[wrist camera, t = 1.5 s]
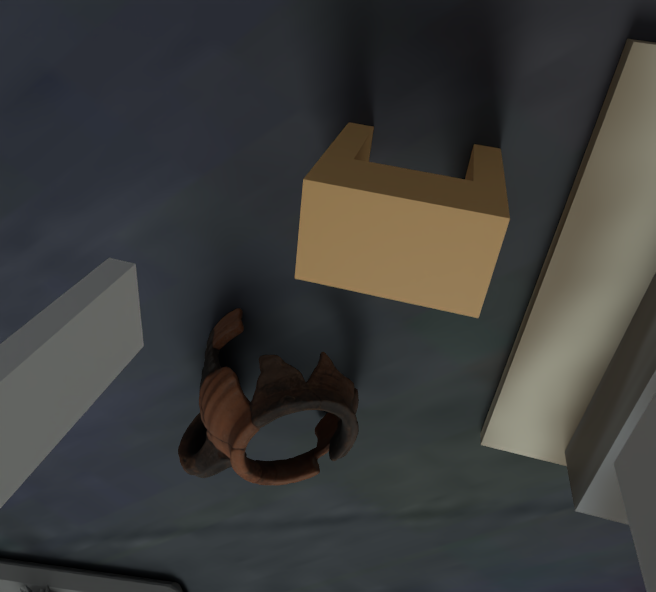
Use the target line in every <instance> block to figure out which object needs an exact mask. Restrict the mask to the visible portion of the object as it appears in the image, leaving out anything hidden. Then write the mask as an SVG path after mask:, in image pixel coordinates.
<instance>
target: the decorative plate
mask: <svg viewBox="0 0 656 592" xmlns="http://www.w3.org/2000/svg"><path fill="white" fill-rule="evenodd" d="M0 592H183V591H182V589H181V586H180V584H178V583H176V582H171V581H164V580H156V579H149V578H142V577H135V576H127V575H120V574H113V573H106V572H98V571H91V570H84V569H77V568H69V567H62V566H55V565H48V564H40V563H33V562H26V561H19V560H11V559H4V558H0Z"/></svg>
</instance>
